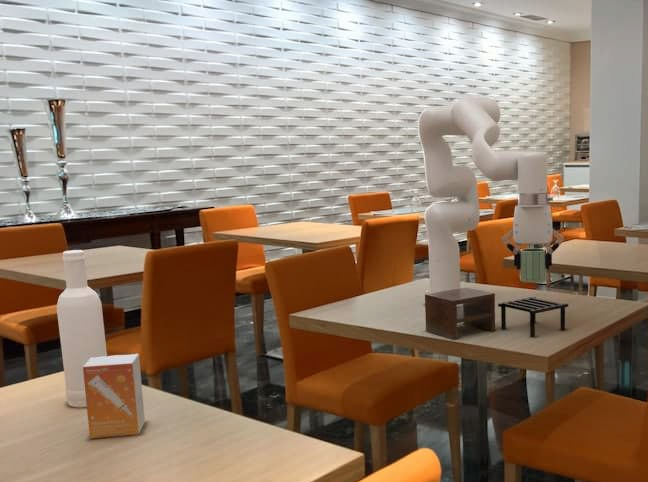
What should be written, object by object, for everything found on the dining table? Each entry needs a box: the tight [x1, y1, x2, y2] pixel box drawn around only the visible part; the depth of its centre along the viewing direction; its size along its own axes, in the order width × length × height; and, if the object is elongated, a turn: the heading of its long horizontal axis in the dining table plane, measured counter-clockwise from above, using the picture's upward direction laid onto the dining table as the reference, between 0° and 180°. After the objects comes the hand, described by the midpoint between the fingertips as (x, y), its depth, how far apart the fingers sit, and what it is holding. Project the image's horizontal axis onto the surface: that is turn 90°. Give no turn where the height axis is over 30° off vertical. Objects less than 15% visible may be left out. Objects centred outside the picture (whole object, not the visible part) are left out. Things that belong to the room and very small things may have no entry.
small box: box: [83, 353, 146, 439], centre depth 131 cm, size 8×6×13 cm
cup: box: [519, 247, 547, 284], centre depth 196 cm, size 7×7×8 cm
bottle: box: [56, 249, 108, 408], centre depth 146 cm, size 8×8×30 cm
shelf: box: [424, 287, 496, 340], centre depth 198 cm, size 12×14×10 cm
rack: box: [497, 296, 569, 338], centre depth 198 cm, size 13×13×7 cm
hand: (533, 268), depth 196 cm, fingers closed on cup, 7 cm apart
